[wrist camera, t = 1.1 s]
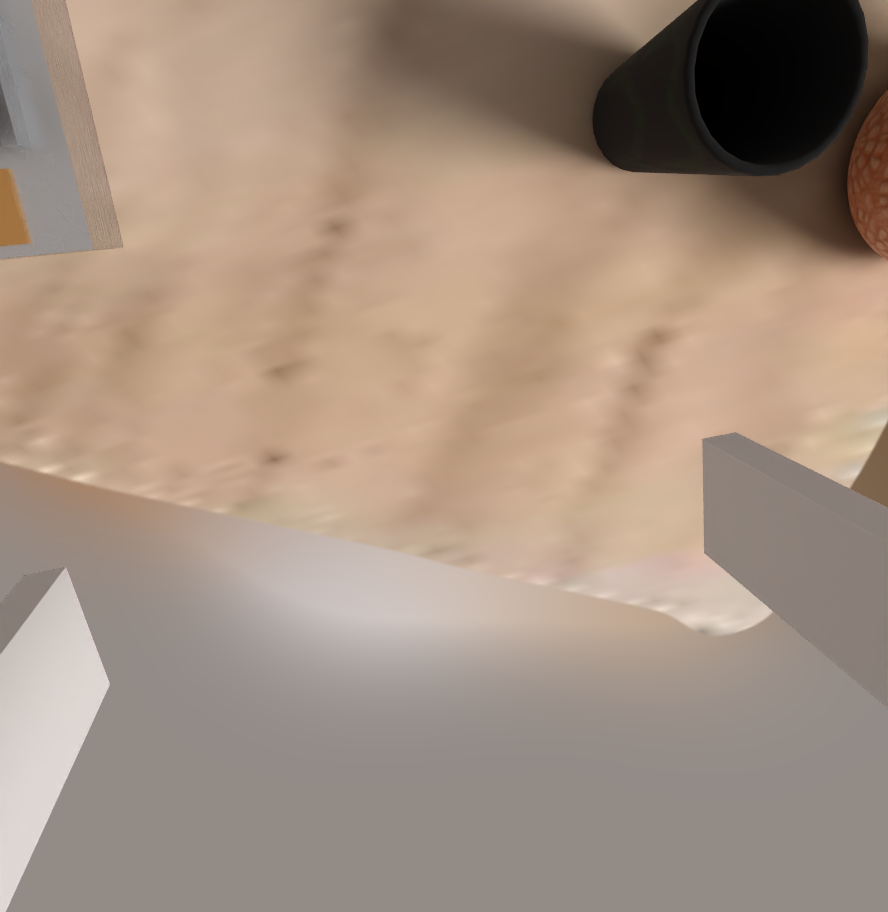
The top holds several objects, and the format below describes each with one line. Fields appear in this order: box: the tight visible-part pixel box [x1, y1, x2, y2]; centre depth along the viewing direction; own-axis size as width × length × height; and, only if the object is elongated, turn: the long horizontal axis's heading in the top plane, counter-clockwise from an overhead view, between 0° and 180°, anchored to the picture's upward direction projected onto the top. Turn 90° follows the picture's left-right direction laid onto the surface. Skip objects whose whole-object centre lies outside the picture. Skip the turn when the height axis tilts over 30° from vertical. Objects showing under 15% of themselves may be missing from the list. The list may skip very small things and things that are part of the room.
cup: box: [592, 0, 868, 176], centre depth 32 cm, size 8×8×12 cm
